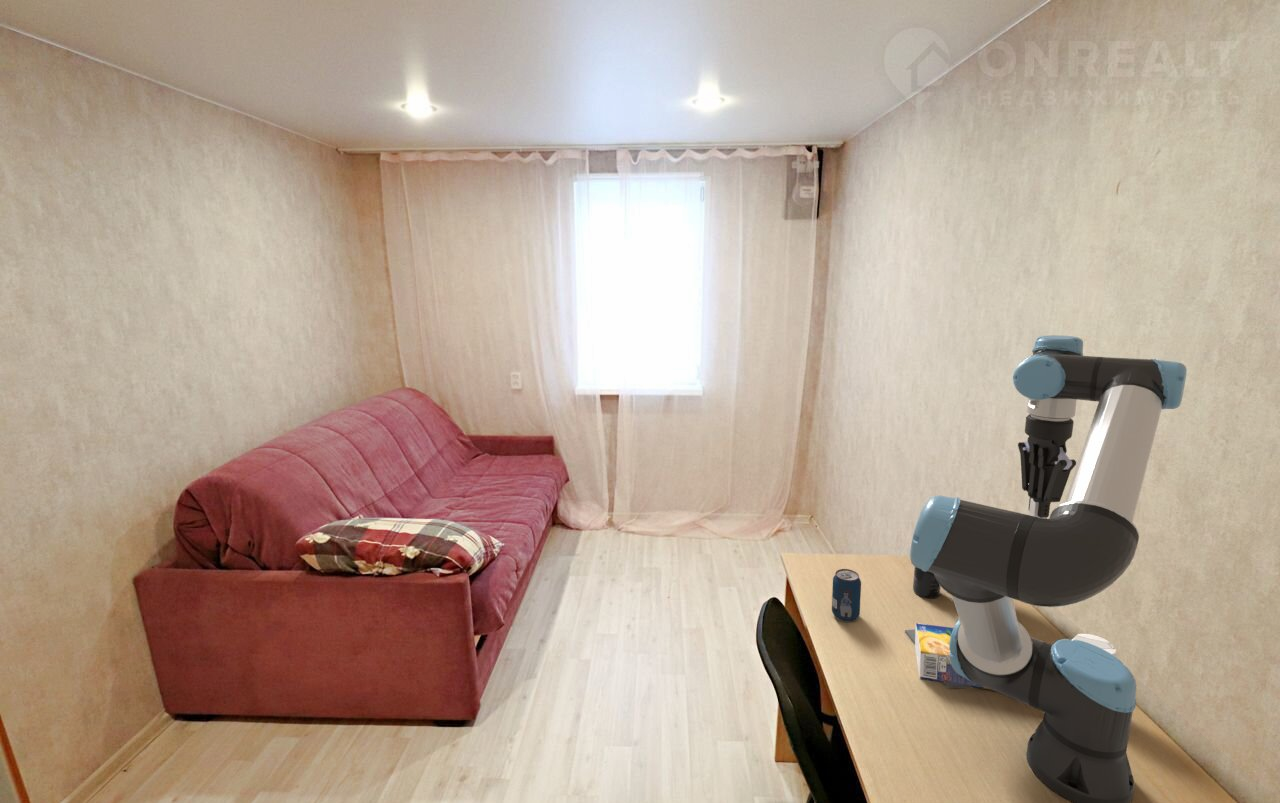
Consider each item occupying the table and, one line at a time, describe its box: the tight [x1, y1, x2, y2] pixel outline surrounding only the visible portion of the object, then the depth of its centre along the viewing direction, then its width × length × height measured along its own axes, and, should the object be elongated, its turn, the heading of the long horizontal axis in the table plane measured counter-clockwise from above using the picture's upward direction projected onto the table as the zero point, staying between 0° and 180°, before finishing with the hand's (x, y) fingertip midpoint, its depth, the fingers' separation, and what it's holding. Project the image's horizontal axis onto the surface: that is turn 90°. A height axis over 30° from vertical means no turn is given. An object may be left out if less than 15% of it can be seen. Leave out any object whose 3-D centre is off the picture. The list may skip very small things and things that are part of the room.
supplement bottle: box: [912, 566, 942, 600], centre depth 158 cm, size 7×7×12 cm
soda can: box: [831, 568, 862, 623], centre depth 149 cm, size 7×7×12 cm
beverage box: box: [914, 622, 993, 691], centre depth 127 cm, size 7×11×22 cm
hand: (1036, 529), depth 115 cm, fingers closed
